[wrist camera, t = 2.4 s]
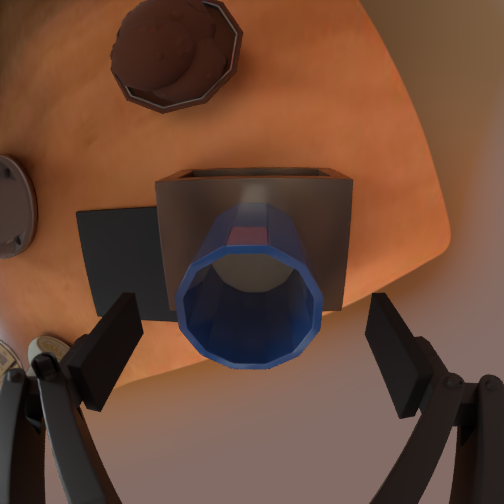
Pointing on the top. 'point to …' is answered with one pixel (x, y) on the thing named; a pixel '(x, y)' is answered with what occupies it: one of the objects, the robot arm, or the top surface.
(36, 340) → the air freshener
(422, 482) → the robot arm
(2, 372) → the coffee can
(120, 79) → the ice cream bowl
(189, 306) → the cup
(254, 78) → the top surface
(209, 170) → the shelf
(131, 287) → the mat
